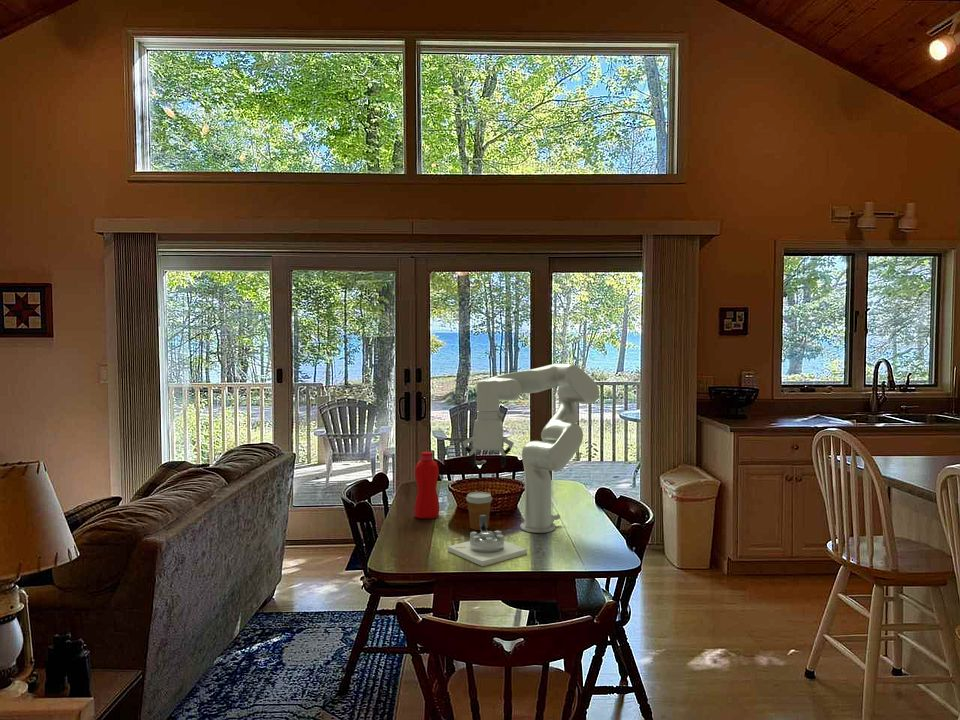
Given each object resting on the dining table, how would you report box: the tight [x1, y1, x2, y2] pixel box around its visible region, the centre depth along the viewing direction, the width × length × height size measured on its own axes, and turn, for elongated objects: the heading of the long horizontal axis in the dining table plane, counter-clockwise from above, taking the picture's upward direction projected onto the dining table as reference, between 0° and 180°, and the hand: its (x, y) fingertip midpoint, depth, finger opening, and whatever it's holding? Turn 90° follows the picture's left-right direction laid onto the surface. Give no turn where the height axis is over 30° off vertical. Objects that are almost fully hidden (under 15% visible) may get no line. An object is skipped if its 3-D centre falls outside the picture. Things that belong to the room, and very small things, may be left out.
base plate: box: [447, 540, 528, 567], centre depth 204 cm, size 18×18×2 cm
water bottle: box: [414, 451, 440, 520], centre depth 246 cm, size 9×11×25 cm
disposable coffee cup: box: [465, 491, 493, 531], centre depth 231 cm, size 10×10×12 cm
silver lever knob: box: [469, 515, 505, 553], centre depth 205 cm, size 15×11×8 cm
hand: (488, 466), depth 214 cm, fingers open, 9 cm apart
